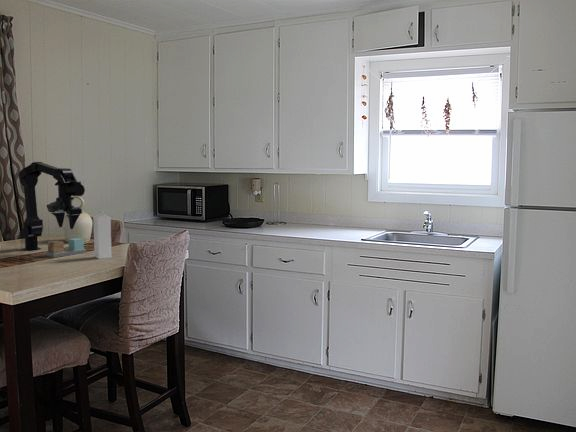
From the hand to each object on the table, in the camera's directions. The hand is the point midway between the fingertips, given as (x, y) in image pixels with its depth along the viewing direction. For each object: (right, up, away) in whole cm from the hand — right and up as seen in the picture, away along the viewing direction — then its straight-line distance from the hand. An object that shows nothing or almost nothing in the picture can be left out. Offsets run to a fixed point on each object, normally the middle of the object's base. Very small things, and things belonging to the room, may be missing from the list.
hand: (66, 228), depth 271 cm
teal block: (+3, -10, +5) cm, 12 cm away
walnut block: (-3, -11, -3) cm, 12 cm away
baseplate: (0, -12, +1) cm, 13 cm away
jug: (-9, -8, +39) cm, 41 cm away
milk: (+19, -14, -6) cm, 24 cm away
